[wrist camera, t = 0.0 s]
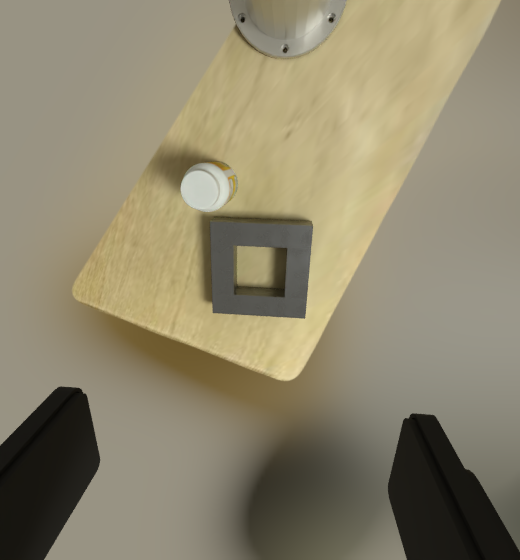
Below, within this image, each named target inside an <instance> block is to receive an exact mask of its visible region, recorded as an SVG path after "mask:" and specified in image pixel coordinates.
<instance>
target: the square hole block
mask: <svg viewBox="0 0 520 560" xmlns="http://www.w3.org/2000/svg"><path fill="white" fill-rule="evenodd" d="M312 231H313V224H312V221H297V220H273V219H248V218H224V217H214V218H213V219H212V220H211V221H210V238H211V271H212V304H213V313H222V314H239V315H256V316H272V317H289V318H305V314H306V302H307V290H308V279H309V267H310V255H311V243H312ZM237 246H256V247H278V248H287V260H286V278H285V289H275V288H257V287H238V286H237Z"/></svg>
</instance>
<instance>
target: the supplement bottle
mask: <svg viewBox="0 0 520 560" xmlns="http://www.w3.org/2000/svg"><path fill="white" fill-rule="evenodd" d="M237 187H238V181H237V177H236V174H235V172H234V171H233V169H232V168H231V167H229V166H228V165H227V164H225V163H222V162H205V163H199V164H196V165H194V166H192V167H191V168H190V169H189V170H188V171H187V172H186V174H185V175H184V178H183V180H182V182H181V195H182V198H183V199H184V201H185V202H186V203H187V204H188V205H189V206H190V207H192V208H194V209H197V210H200V211H203V212H211V211H215V210H217V209H219V208H221V207H222V206H223V205H225V204H226V203H227V202H229V201H230V200H231V199H232V198H233V197H234V195H235V194H236V191H237Z"/></svg>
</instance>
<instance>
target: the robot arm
mask: <svg viewBox="0 0 520 560" xmlns="http://www.w3.org/2000/svg"><path fill="white" fill-rule="evenodd" d="M346 1H347V0H229V3H230V7H231V11H232V15H233V17H234V20H235V23H236V24H237V26H238V28H239V30H240V32H241V34H242V35H243V36H244V38H245V39H246V40H247V41H248V43H249V44H250V45H252V46H253V47H254V48H255V49H256V50H258V51H259V52H261V53H263V54H265V55H266V56H270V57H273V58H276V59H292V58H298V57H301V56H303V55H306V54H309V53H310V52H312V51H313V50H315V49H316V48H318V47H319V46H320V45H321V44H322V43H323V42H324V41H325V40H327V38H328V37H329V36H330V34H331V33H332V32H333V30H334V29H335V28H336V26H337V24H338V22H339V20H340V18H341V16H342V13H343V10H344V8H345V5H346ZM242 18H244V19H245V22H243V23H242V22H241V19H242ZM330 18H331V19H333V22H332V23H329V19H330ZM285 48H286V49H287V52H286V53H284V52H283V49H285ZM99 463H100V456H99V451H98V446H97V441H96V437H95V432H94V427H93V422H92V418H91V413H90V408H89V403H88V398H87V395H86V394H83V392H82V390H81V389H80V388H72V387H58V388H57V389H55V390H54V391H53V392H52V393H51V394H50V395H49V397H47V399H46V400H45V401H44V402H43V403H42V404H41V405H40V406H39V407H38V408H37V409H36V410H35V411H34V412H33V413H32V414H31V415H30V416H29V417H28V418H27V419H26V420H25V421H24V422H23V423H22V424H21V425H20V426H19V427H18V428H17V429H16V430H15V431H14V432H13V433H12V434H11V435H10V436H9V437H8V438H7V439H6V440H5V441H4V442H3V444H1V446H0V560H44V559H45V557H46V555H47V554H48V552H49V550H50V549H51V547H52V545H53V544H54V542H55V540H56V539H57V537H58V535H59V533H60V532H61V530H62V529H63V527H64V525H65V523H66V522H67V520H68V518H69V517H70V515H71V513H72V512H73V510H74V509H75V507H76V505H77V503H78V502H79V500H80V499H81V497H82V495H83V493H84V492H85V490H86V489H87V487H88V485H89V483H90V482H91V480H92V478H93V477H94V475H95V473H96V472H97V470H98V467H99ZM388 494H389V499H390V503H391V506H392V509H393V513H394V516H395V520H396V523H397V527H398V530H399V534H400V537H401V541H402V544H403V547H404V551H405V554H406V558H407V560H520V552H519V550H518V548H517V547H516V545H515V543H514V541H513V540H512V538H511V536H510V534H509V533H508V531H507V529H506V527H505V526H504V524H503V522H502V520H501V519H500V517H499V515H498V513H497V512H496V510H495V508H494V507H493V505H492V503H491V501H490V500H489V498H488V496H487V494H486V493H485V491H484V489H483V487H482V486H481V484H480V482H479V481H478V479H477V478H476V476H475V475H474V474H473V473H472V472H471V471H470V470H466V469H465V468H464V466H463V465H462V463H461V461H460V459H459V458H458V456H457V454H456V452H455V450H454V449H453V447H452V445H451V443H450V441H449V439H448V438H447V436H446V434H445V432H444V431H443V429H442V427H441V425H440V423H439V421H438V420H437V418H436V417H435V416H434V415H425V414H411V415H410V417H409V419H407V418H405V419H404V420H403V424H402V428H401V432H400V437H399V441H398V445H397V450H396V454H395V458H394V462H393V466H392V471H391V475H390V479H389V483H388Z"/></svg>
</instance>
